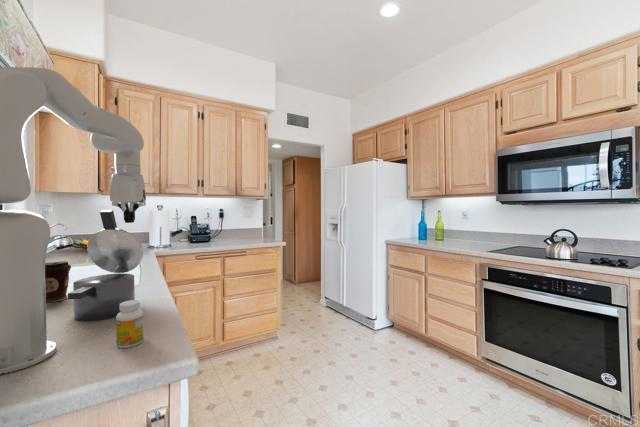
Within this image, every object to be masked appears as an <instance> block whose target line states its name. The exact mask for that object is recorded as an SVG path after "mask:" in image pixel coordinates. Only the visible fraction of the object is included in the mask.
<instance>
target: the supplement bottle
mask: <svg viewBox="0 0 640 427" xmlns="http://www.w3.org/2000/svg"><path fill="white" fill-rule="evenodd" d="M140 303H141V302H140V300H137V299H135V300H130V301H125V302H122V303H120V305H119V309H120V311H121V312H120V313H118V314H117V316H116V317H115V326H116V327H115V331H116V333H115V334H116V337H115V338H116V341H115V342H116V347H117V348H120V349H128V348H133V347H135V346H138V345H140V344H142V343H143V341H144V312H143V310H142V309H140V305H141V304H140Z"/></svg>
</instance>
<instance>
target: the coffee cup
mask: <svg viewBox="0 0 640 427" xmlns="http://www.w3.org/2000/svg"><path fill="white" fill-rule="evenodd" d="M71 268H72V266H71V264H69V261H67V260H66V261H63V260H62V261H54V262H53V261H52V262H51V261H50V262H49V261H48V262H45V290H46V303H53V302H60V301H65V300H68V295H67V294H68V288H69V282H70V275H69V274H70V270H71Z"/></svg>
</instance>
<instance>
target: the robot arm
mask: <svg viewBox="0 0 640 427" xmlns="http://www.w3.org/2000/svg"><path fill="white" fill-rule="evenodd" d="M42 108H45V109H46V110H48V112H51V113H52V114H53V115H55V116H56V117H58V118H59V119H60V120H62V121H63V122H64V123H65V124H67V125H68V126H69V127H71V128H74V129H76V130H79V131H83V132H86V133H90V134H91V135H90V143H91V145H92V147H93V148H95V150H96V151H99V152H101V153H104V154H105V153H106V154H108V153H109V154H114V167H113V166H112V167H111V168H110V170H111V171H112V172H114V173H112V175H111V179H110V185H109V201H110V202H111V205H112V206H113V207H116V208H117V207H118V208H119V209H120V210H121V211H122V212H123V221H124V223H125V224H132V223H134V222H135V220H136V212H137V210H138V209H139V208H140V207H145V206H147V202H146V201H147V200H146V199H147V193H146V192H147V191H146V185H145V184H146V183H145V178H144V176H143V174H142V173H141V151H142V150H143V149H144V147H145V146H144V145H145V142H144V138H143V135H142V134H141V132H140V131H139V130H138V129H137V127H136V126H134V124H133V123H131V122H130V121H129V120H128V119H126V118H125V117H122V116H121V115H118V114H117V113H114V112H112V111H109V110H108V109H106V108H103V107H101V106H97V105H96V104H94V103H92V101H90V99H88V98H87V97H86V96H85V95H84V94H83V93H82V92H81V91H79V89H77V88H76V87H75V85H73V84H72V83H71V82H70V81H69V80H68V79H66V77H64V75H62V74H61V73H59V72H58V71H55V70H53V69H50V68H46V67H45V68H44V67H28V66H27V67H26V66H23V67H22V66H0V205H12V204H17V203H22V202H24V201H25V200H27V199H28V198H29V197H30V195H31V192H32V184H31V183H32V182H31V177H30V172H29V167H28V161H27V156H26V151H25V144H24V140H23V139H24V138H23V136H24V130H25V126H26V125H27V123H28V121H29V120H30V119H31V118H32V117H33V116H34V115H35V114H37V113H38V112H39V111H40V110H41V109H42ZM50 238H51V227H50V224H49V222H48V221H47V219H46V218H44V217H43V216H42V215H41V214H39V213H36V212H32V211H28V210H19V209H17V210H16V209H8V210H7V209H2V210H0V375H3V374H2V373H4V374H9V373H13V372H16V371H19V370H20V371H21V370H22V369H26V368H28V367H31V366H33V365H36V364H38V363H41V362H43V361H45V360H47V359H48V358H49V357H52V356H53V355H54V354H55V353H56V351H57V343H56V342H54V341H51V340H48V336H47V333H48V330H47V326H48V325H47V302H46V290H45V263H46V258H47V257H46V256H47V251H48V246H49V242H50ZM8 372H9V373H8Z"/></svg>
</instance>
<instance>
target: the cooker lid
mask: <svg viewBox="0 0 640 427" xmlns="http://www.w3.org/2000/svg"><path fill="white" fill-rule="evenodd" d="M99 213H100V218H101V223H102V226H103V229H100V230H98V231H96V232H95V233H93V235H92V236H90V237H89V239H88V242H87V245H86V251H87V254H88V256H89V259H90V260H91V261H92V262H93V263H94V265H96V266H97V267H99V268H100V269H101V270H104V271H107V272H109V273H112V274H126V273H128V272H131V271H133V270H135V269H136V268H137V267H138V266H139V264H140V263H141V262H142V260H143V257H144V249H143V246H142V244H141V242H140V240H138V239H137V237H136V236H134V235H133V234H132V233H130V232H128V231H127V230H125V229H121V228H118V226H117V221H116V217H115V214H114V209H102V210H100V211H99Z"/></svg>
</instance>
